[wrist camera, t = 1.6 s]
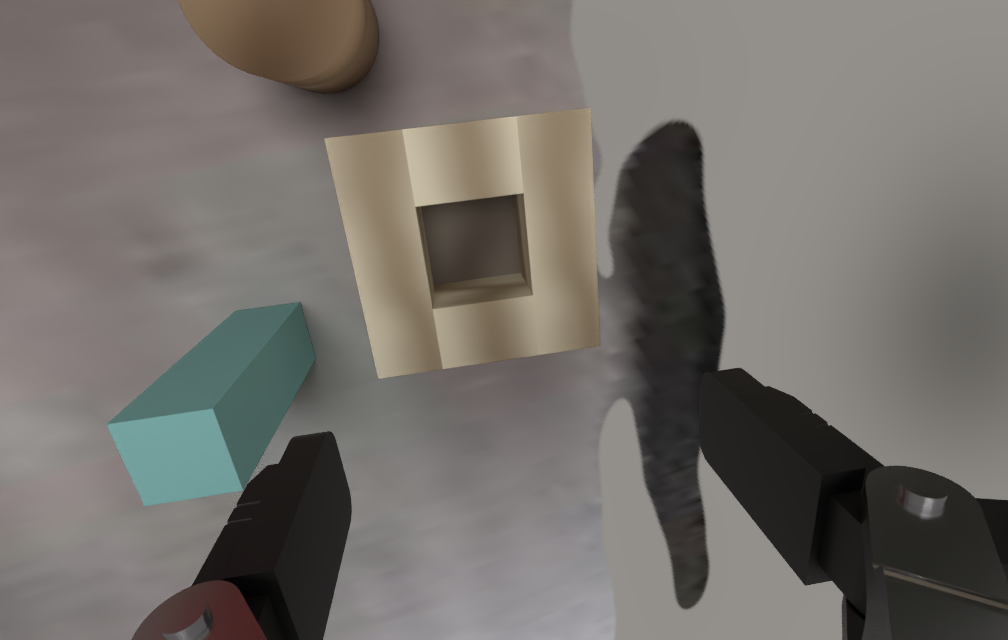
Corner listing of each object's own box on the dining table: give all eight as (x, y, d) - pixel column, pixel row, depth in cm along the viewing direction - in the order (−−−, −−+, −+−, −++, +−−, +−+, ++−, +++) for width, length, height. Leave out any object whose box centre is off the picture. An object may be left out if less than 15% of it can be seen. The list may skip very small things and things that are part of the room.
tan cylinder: (248, 69, 27) (160, 42, 19) (268, -62, 25) (181, -157, 17) (364, 110, 28) (330, 102, 20) (391, -11, 26) (368, -76, 18)
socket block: (387, 343, 33) (378, 378, 29) (343, 136, 29) (324, 138, 24) (578, 316, 34) (600, 346, 30) (567, 111, 29) (590, 107, 25)
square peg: (253, 367, 33) (144, 506, 21) (235, 311, 31) (106, 424, 19) (315, 358, 33) (242, 490, 21) (300, 302, 32) (212, 408, 20)
